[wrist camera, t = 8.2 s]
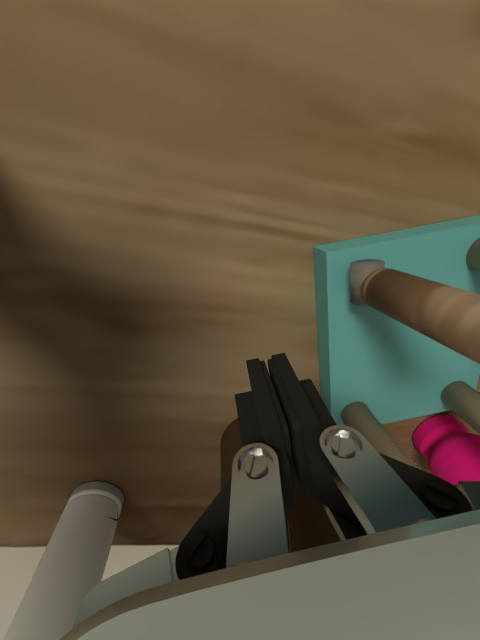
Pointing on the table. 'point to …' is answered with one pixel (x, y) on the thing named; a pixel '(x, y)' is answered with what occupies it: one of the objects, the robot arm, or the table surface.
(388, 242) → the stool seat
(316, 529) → the olive oil
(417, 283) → the hinged leg
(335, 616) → the robot arm
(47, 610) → the travel mug
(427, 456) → the pepper mill
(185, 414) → the table surface
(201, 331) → the table surface
